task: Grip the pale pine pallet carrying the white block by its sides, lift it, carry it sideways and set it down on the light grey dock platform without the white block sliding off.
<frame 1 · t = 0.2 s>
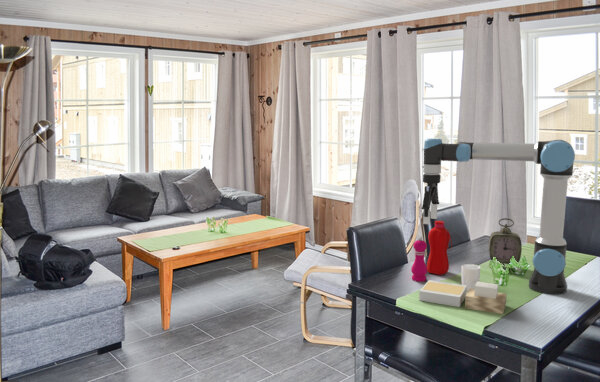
hand: (430, 221, 234), 28 cm above the table, tool pointing down, fingers open, 13 cm apart
tabletop clock: (503, 268, 259), on the table
pepper mill: (418, 280, 241), on the table
white block: (485, 294, 207), point 5 cm above the table, touching pallet
pallet: (485, 307, 207), on the table, touching white block
water bottle: (439, 273, 252), on the table
white cup: (469, 289, 228), on the table
dock: (443, 297, 218), on the table
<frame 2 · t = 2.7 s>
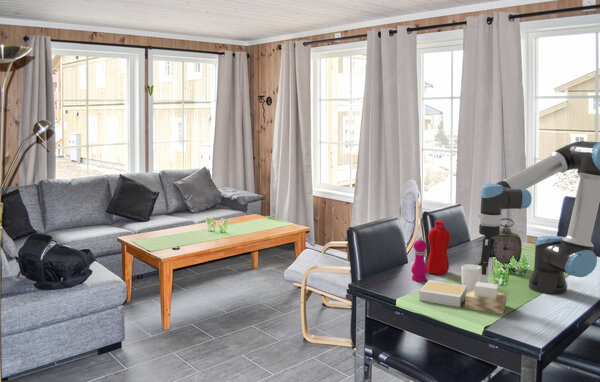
hand: (486, 277, 205), 12 cm above the table, tool pointing down, fingers open, 13 cm apart
nothing on the table moved.
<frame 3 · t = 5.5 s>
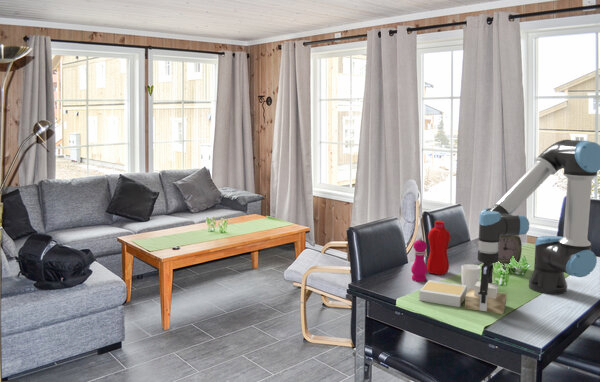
hand: (485, 306, 207), 0 cm above the table, tool pointing down, fingers closed on pallet, 10 cm apart
pallet: (485, 307, 207), on the table, touching white block, gripper
everything else where it was.
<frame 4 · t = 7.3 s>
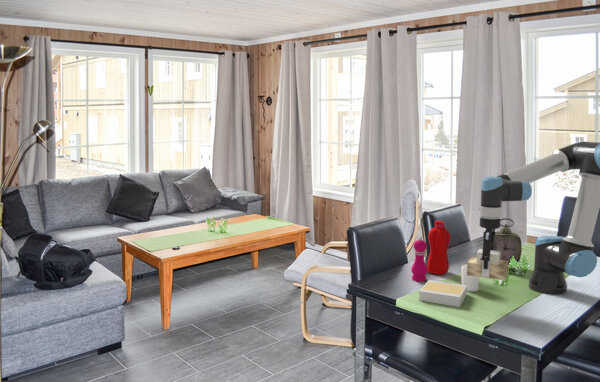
hand: (487, 273, 205), 14 cm above the table, tool pointing down, fingers closed on pallet, 10 cm apart
white block: (488, 261, 205), point 18 cm above the table, touching pallet
pallet: (487, 274, 205), point 13 cm above the table, touching white block, gripper
everything else where it was.
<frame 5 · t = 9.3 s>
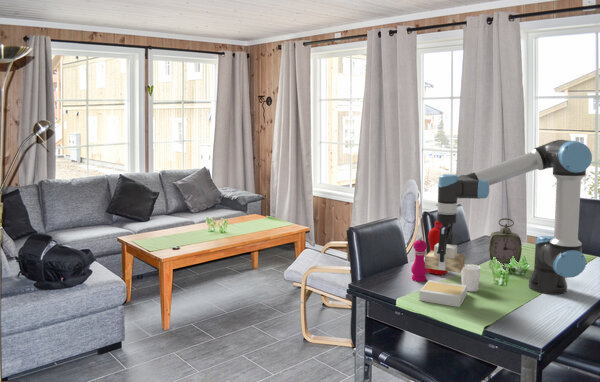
hand: (444, 266, 216), 13 cm above the table, tool pointing down, fingers closed on pallet, 10 cm apart
white block: (445, 255, 215), point 18 cm above the table, touching pallet
pallet: (444, 267, 216), point 13 cm above the table, touching white block, gripper
everything else where it was.
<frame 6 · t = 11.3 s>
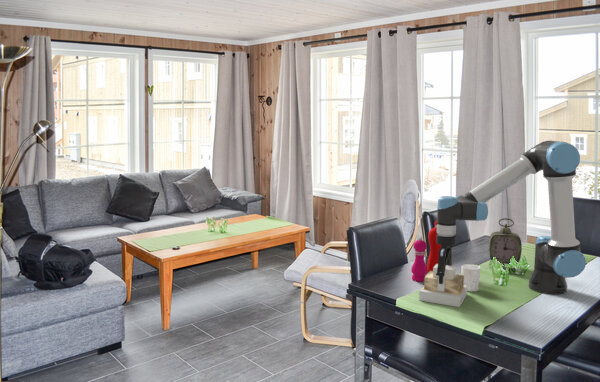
hand: (443, 287, 217), 4 cm above the table, tool pointing down, fingers closed on pallet, 10 cm apart
white block: (444, 276, 216), point 9 cm above the table, touching pallet
pallet: (443, 288, 217), point 4 cm above the table, touching white block, dock, gripper
everything else where it was.
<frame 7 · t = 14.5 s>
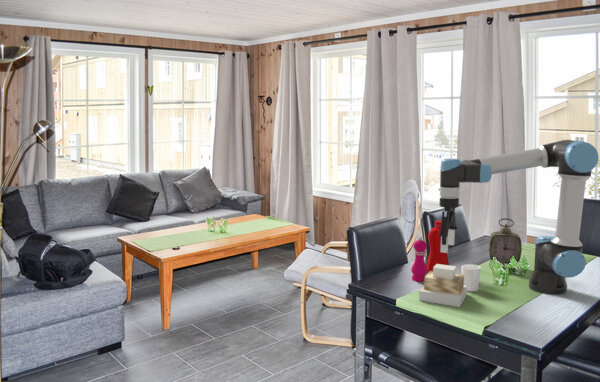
hand: (447, 248, 215), 21 cm above the table, tool pointing down, fingers open, 13 cm apart
pallet: (443, 288, 217), point 4 cm above the table, touching white block, dock
everything else where it was.
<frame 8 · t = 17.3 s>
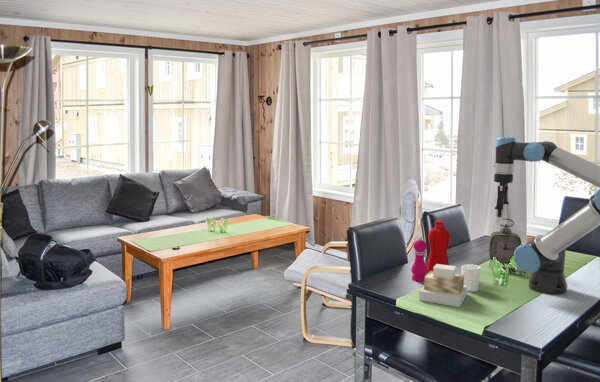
hand: (501, 221, 229), 29 cm above the table, tool pointing down, fingers open, 13 cm apart
nothing on the table moved.
at the end: pallet inside the target area on the dock (0.1 cm from its centre), point 4.0 cm above the dock's base; white block 0.0 cm off-centre on the pallet, point 5.0 cm above the pallet's base; the gripper is holding nothing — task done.
